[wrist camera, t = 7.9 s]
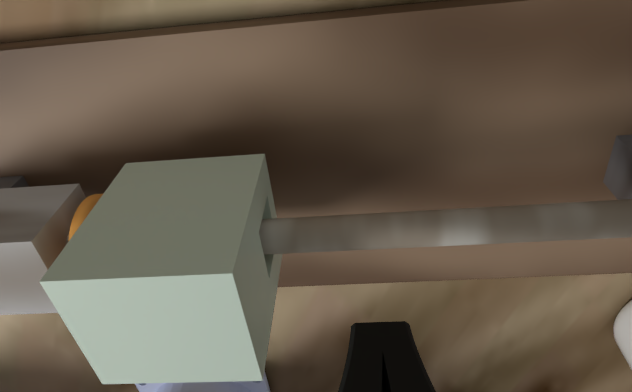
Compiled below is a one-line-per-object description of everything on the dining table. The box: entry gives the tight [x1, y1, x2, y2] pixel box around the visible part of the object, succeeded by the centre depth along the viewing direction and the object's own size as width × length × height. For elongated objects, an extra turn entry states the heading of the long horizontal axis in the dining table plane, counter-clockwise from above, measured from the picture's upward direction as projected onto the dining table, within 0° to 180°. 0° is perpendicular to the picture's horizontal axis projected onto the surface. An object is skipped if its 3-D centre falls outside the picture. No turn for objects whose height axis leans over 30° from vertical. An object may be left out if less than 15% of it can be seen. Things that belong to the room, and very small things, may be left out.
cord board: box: [0, 0, 632, 315], centre depth 17 cm, size 12×28×6 cm, turn 96°
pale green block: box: [39, 154, 282, 384], centre depth 15 cm, size 4×5×6 cm
